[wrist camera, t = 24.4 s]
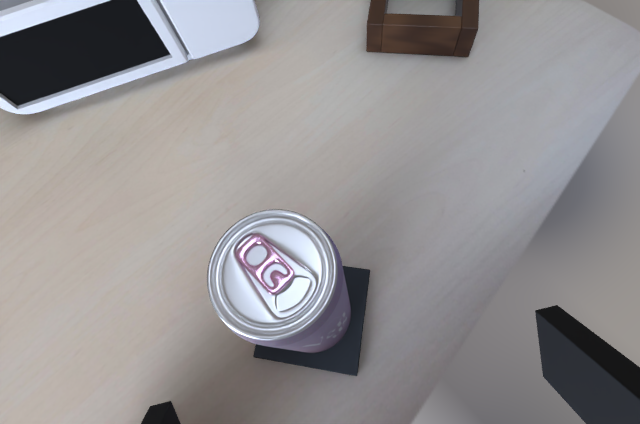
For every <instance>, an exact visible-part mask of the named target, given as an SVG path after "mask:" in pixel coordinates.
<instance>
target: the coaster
mask: <svg viewBox="0 0 640 424" xmlns="http://www.w3.org/2000/svg"><path fill="white" fill-rule="evenodd" d="M343 271H344V276H345V281H346V286H347V291H348V296H349V301H350V306H351V318H350V323H349V326H348V329H347V331H346V333H345V334H344V336H343V337H342V339H341V340H340V341H339V342H338V343H337V344H335V345H334V346H333V347H331V348H329V349H327V350H325V351H321V352H316V353H307V352H300V351H294V350H287V349H281V348H275V347H268V346H262V345H258V344H256V346H255V351H254V357H257V358H262V359H267V360H273V361H278V362H284V363H289V364H294V365H300V366H305V367H311V368H316V369H321V370H327V371H332V372H338V373H343V374H349V375H354V376H357V373H358V365H359V356H360V348H361V340H362V332H363V324H364V316H365V307H366V299H367V291H368V283H369V275H370V270H368V269H361V268H354V267H346V266H343Z"/></svg>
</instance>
